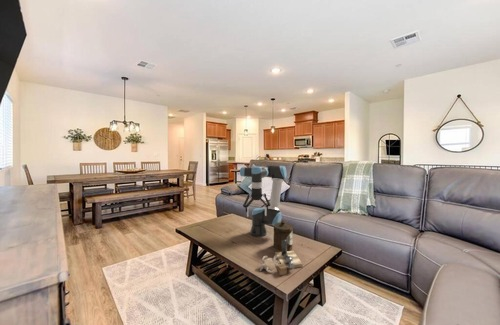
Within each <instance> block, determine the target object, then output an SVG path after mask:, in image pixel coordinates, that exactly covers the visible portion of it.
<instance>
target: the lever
mask: <svg viewBox="0 0 500 325" xmlns="http://www.w3.org/2000/svg"><path fill="white" fill-rule="evenodd" d="M282 255H283V256H284V258H285V260H286V265H288V266H289V268H288V269H295V268H294V264H293V258H292V257H291V256H288V255H287V239H282Z"/></svg>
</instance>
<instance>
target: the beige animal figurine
mask: <svg viewBox="0 0 500 325" xmlns="http://www.w3.org/2000/svg"><path fill="white" fill-rule="evenodd" d="M261 261H262V264H261V265H260V267H259V271H260V272H261V271H263V270H266V272H268V273H270V274H272V273H274V271H277V265H279V264H280V262H279V261H278V259H277V255H275V254H274V256H273V258H272V257H268V255H264V256H262V258H261Z"/></svg>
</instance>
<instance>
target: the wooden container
mask: <svg viewBox="0 0 500 325" xmlns="http://www.w3.org/2000/svg"><path fill="white" fill-rule="evenodd" d="M282 239H287V251H293V241H294V240H293V239H294V238H293V224H291V223H290V222H286V221H285V219H284V220H281V222H279V223H275V224H274V225H273V244H272V245H273V249H274V250H275V251H276V252H282Z"/></svg>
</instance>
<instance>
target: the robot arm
mask: <svg viewBox="0 0 500 325" xmlns="http://www.w3.org/2000/svg"><path fill="white" fill-rule="evenodd" d="M287 172H288V171H287V168H286V166H285V165H272V164H271V165H269V164H268V165H262V166H252V167H249V166H248V167H247V166H243V167H241V168H240V169H239V175H240V176H241V177H244V178H245V177H246V178H251V194H250V193H248V194H246V198H245V200H244V201H243V202H244V203H243V205H242V207H243V208H245V211H244V212H245V213H246V216H247V218H249V206H250V205H251V204H252V203H253V202H254V201H261V202H262V203H263V205H265V206H264V207H256V208H254V209H252V211H251V222H252V223H251V227H250V232H249V234H250V235H251V236H253V237H257V238H258V237H259V238H260V237H264V236H266V235H267V234H268V231H267V228H266V225H270V226H274V224H275V223H279V222H281V221H282V217H283V213H282V212H281V210H280V201H281V194H282V193H281V192H282V188H283V185H282V184H283V182H284V181H285V180H286V179H287V176H288V173H287ZM263 178H271V181H272V184H271V185H272V186H271V190H270V191H271V193H270V199H268V197H267V194H266V193H264V192H263V189H262V188H263V185H262V184H263ZM263 198H264V199H265V201H264V199H263ZM249 199H250V200H249Z"/></svg>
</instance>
